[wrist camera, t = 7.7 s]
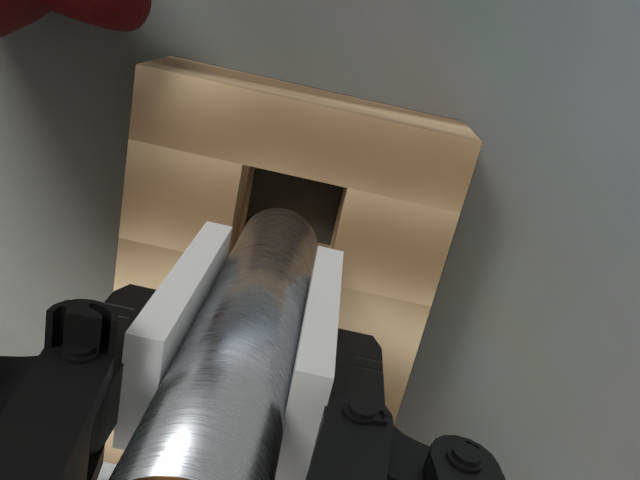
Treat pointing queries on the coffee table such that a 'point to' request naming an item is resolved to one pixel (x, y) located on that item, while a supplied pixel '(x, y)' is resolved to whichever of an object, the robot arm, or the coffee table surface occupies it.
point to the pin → (232, 365)
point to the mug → (75, 13)
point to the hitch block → (305, 162)
